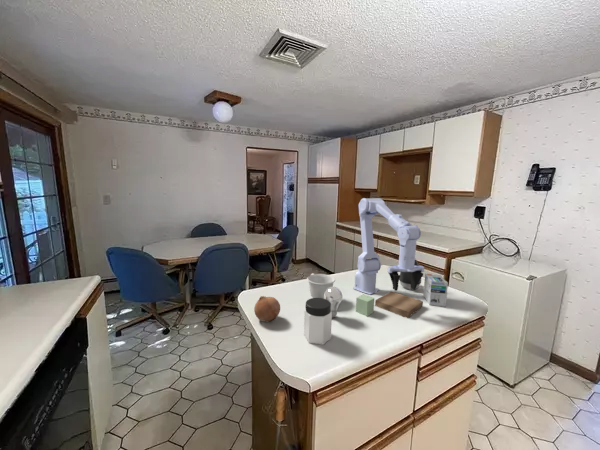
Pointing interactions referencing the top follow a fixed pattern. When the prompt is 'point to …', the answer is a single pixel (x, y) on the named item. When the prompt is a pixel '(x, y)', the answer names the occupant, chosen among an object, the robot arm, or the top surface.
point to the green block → (365, 305)
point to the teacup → (319, 284)
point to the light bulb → (333, 298)
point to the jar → (317, 320)
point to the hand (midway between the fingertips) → (404, 289)
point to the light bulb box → (435, 290)
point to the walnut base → (399, 304)
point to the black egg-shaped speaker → (408, 278)
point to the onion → (267, 309)
